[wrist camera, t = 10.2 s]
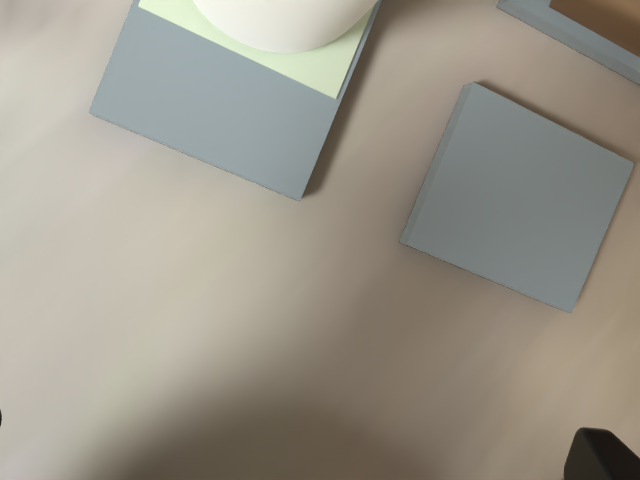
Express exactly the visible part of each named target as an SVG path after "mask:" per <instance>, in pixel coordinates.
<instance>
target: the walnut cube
mask: <svg viewBox="0 0 640 480" xmlns="http://www.w3.org/2000/svg"><path fill="white" fill-rule="evenodd" d="M549 7H550V8H552V9H553V10H555V11H557V12H559V13H561V14H562V15H564V16H566V17H568V18H570V19H571V20H573V21H575V22H577V23H578V24H580V25H582V26H584V27H586V28H587V29H589V30H591V31H593V32H595V33H596V34H598V35H600V36H602V37H604V38H605V39H607V40H609V41H611V42H612V43H614V44H616V45H618V46H620V47H621V48H623V49H625V50H627V51H629V52H630V53H632V54H634V55H636V56H638V57H640V0H551V2H550V5H549Z"/></svg>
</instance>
